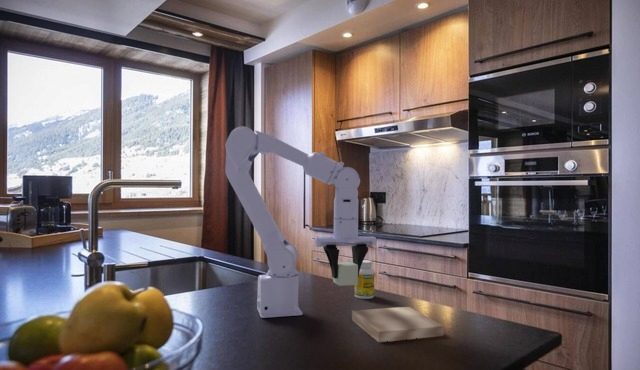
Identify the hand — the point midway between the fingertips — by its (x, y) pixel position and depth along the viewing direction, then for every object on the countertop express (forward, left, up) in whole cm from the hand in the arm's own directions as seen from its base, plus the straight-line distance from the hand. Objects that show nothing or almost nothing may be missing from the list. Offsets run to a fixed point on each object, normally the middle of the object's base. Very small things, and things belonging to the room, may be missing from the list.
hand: (345, 277), depth 96 cm
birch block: (+7, -12, -9) cm, 16 cm away
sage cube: (0, 0, -1) cm, 1 cm away
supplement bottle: (+10, +13, -9) cm, 19 cm away
